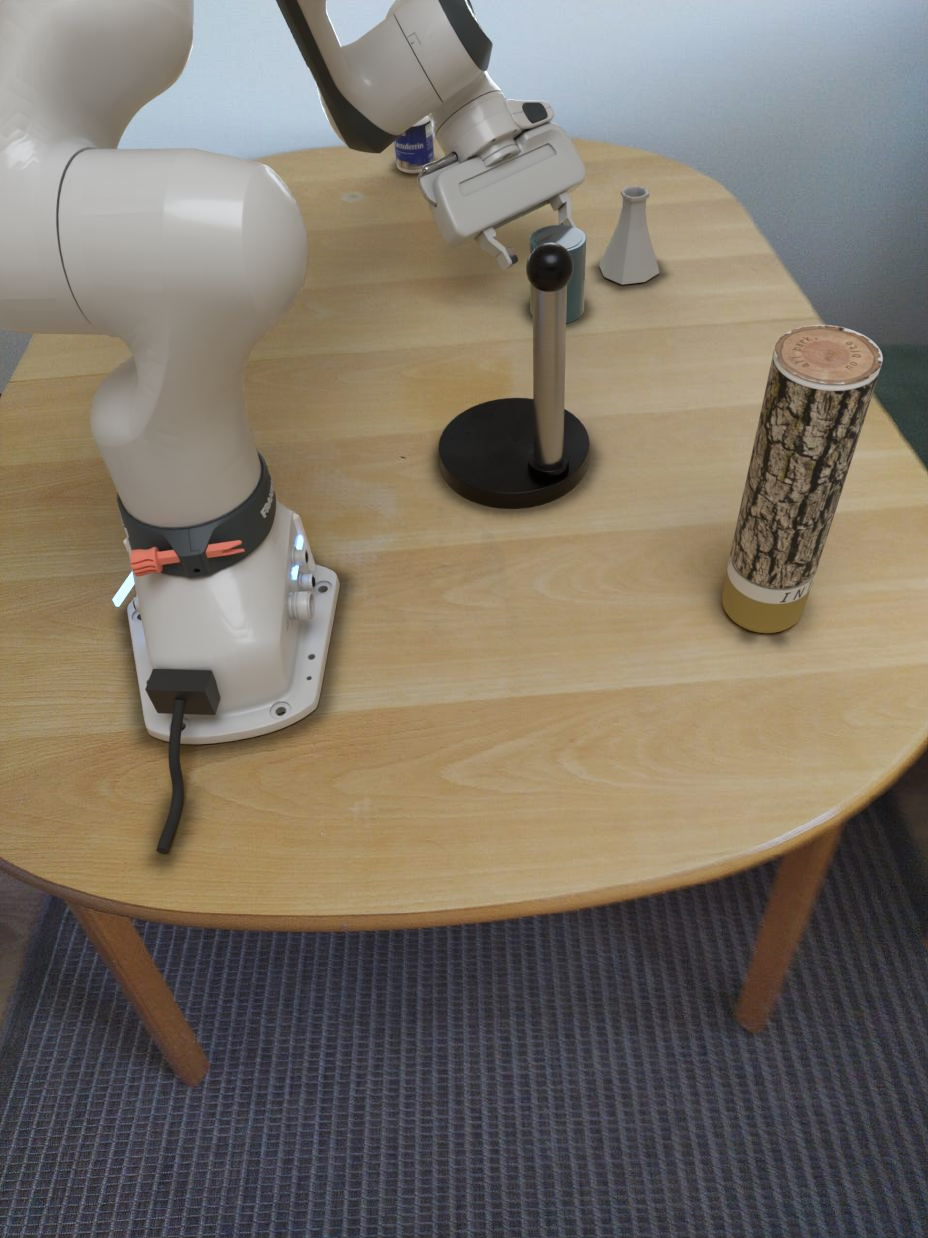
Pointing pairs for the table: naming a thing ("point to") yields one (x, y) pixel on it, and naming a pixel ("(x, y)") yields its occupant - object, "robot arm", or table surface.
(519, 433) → the towel holder
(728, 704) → the table surface
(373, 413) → the table surface
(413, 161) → the pill bottle
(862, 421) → the paper tube
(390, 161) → the table surface
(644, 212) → the flask
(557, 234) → the cup
